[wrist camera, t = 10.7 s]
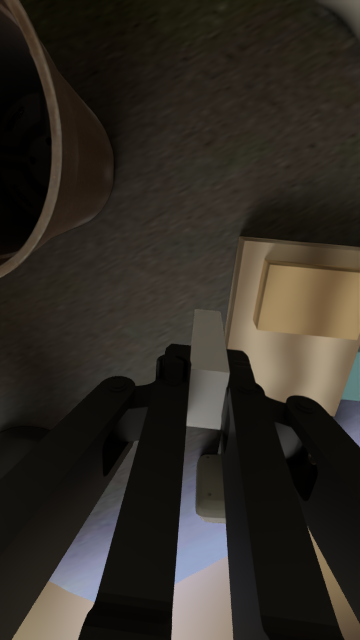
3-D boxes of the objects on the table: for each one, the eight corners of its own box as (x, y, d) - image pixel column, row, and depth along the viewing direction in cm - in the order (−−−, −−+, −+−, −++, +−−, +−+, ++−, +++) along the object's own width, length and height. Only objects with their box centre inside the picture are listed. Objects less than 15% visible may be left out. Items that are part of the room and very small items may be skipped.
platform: (216, 383, 36) (218, 403, 32) (239, 236, 29) (244, 240, 26) (320, 394, 36) (334, 416, 32) (367, 247, 29) (392, 253, 25)
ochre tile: (252, 319, 28) (257, 330, 26) (263, 259, 26) (270, 264, 24) (344, 329, 28) (357, 340, 26) (363, 268, 26) (379, 274, 24)
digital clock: (191, 461, 42) (188, 541, 32) (204, 412, 38) (205, 485, 28) (301, 482, 42) (332, 568, 32) (323, 435, 38) (366, 515, 28)
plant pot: (76, 280, 32) (-31, 344, 17) (-54, 175, 29) (-320, 144, 14) (169, 156, 27) (131, 96, 12) (24, 12, 24) (-269, -308, 9)
